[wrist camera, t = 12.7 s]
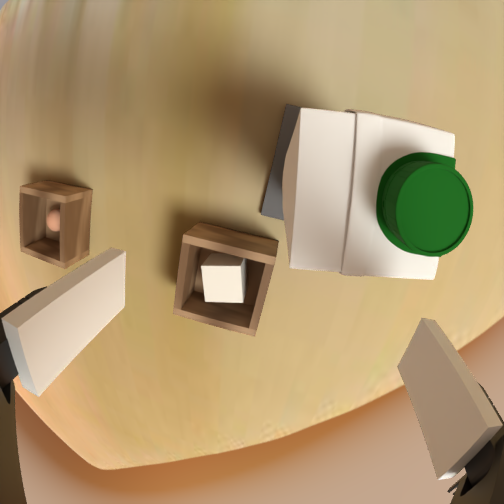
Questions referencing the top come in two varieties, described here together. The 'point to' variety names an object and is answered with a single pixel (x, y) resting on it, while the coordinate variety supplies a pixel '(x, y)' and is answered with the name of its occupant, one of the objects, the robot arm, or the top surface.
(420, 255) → the soya milk
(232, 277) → the cube
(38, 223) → the crate
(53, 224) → the ball
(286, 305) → the top surface
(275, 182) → the coaster
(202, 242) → the crate
